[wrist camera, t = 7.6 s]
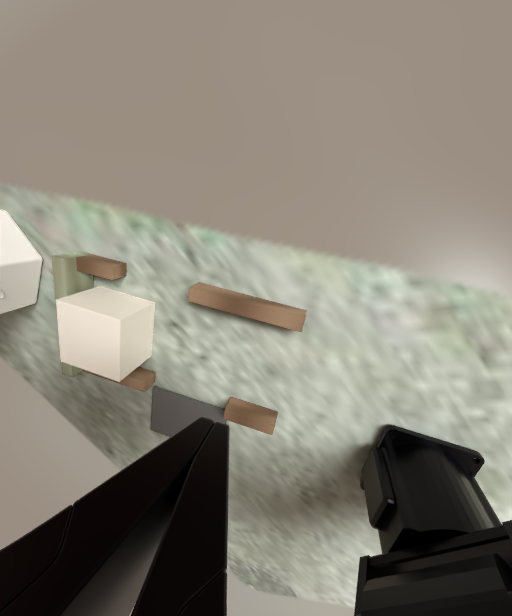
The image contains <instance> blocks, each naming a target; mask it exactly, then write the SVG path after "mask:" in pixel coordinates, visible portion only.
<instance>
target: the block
mask: <svg viewBox="0 0 512 616" xmlns="http://www.w3.org/2000/svg"><path fill="white" fill-rule="evenodd" d="M56 306H57V319H58V333H59V346H60V359H61V362H64V363H67V364H70V365H73V366H76V367H78V368H81V369H84V370H87V371H90V372H92V373H95V374H98V375H101V376H104V377H107V378H109V379H112V380H115V381H118V382H120V381H121V380H122V379H124V378H125V377H126V376H127V375H129V374H130V373H131V372H132V371H133V370H135V369H136V368H137V367H138V366H140V365H141V364H142V363H143V362H145V361H146V360H147V359H148V358H150V357H151V352H152V338H153V324H154V310H155V302H152V301H149V300H145V299H142V298H138V297H135V296H132V295H128V294H125V293H122V292H118V291H115V290H111V289H108V288H105V287H101V286H98V287H95V288H92V289H89V290H85V291H82V292H79V293H76V294H72V295H69V296H66V297H63V298H60V299H56Z"/></svg>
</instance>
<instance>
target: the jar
mask: <svg viewBox="0 0 512 616" xmlns="http://www.w3.org/2000/svg"><path fill="white" fill-rule="evenodd" d="M42 262H43V258H42V257H41V255H40V254H39V253H38V251H37V250H36V249H35V247H34V246H33V245H32V244H31V242H30V241H29V240H28V238H27V237H26V236H25V234H24V233H23V232H22V230H21V229H20V228H19V226H18V225H17V224H16V222H15V221H14V220H13V218H12V217H11V216H10V214H9V213H8V212H7V211H5V210H0V314H3V313H6V312H9V311H13V310H16V309H19V308H23V307H26V306H29V305H32V304H35V303H36V301H37V295H38V288H39V282H40V275H41V268H42Z"/></svg>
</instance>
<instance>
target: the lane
mask: <svg viewBox="0 0 512 616" xmlns="http://www.w3.org/2000/svg"><path fill="white" fill-rule="evenodd" d="M52 264H53V276H54V287H55V298H56V299H60V298H63V297H66V296H69V295H72V294H76V293H79V292H82V291H85V290H89V289H92V288H94V286H93V275H95V276H99V277H103V278H106V279H110V280H114V279H118V278H121V277H124V276H126V263H123V262H119V261H115V260H111V259H108V258H104V257H100V256H96V255H92V254H89V253H85V252H76V253H69V254H62V255H55V256H52ZM188 301H190V302H193V303H197V304H201V305H204V306H208V307H212V308H215V309H219V310H223V311H226V312H230V313H233V314H237V315H241V316H244V317H248V318H252V319H255V320H259V321H263V322H266V323H270V324H273V325H277V326H281V327H284V328H288V329H292V330H295V331H299V332H302V328H303V325H304V321H305V317H306V310H302V309H299V308H295V307H291V306H287V305H283V304H279V303H276V302H272V301H268V300H264V299H260V298H257V297H253V296H249V295H245V294H241V293H237V292H234V291H230V290H226V289H222V288H218V287H215V286H211V285H207V284H203V283H197V284H195V285H193V286H191V287H189V297H188ZM56 309H57V306H56ZM57 320H58V319H57ZM61 365H62V374H64V375H67V376H70V377H74V376H75V375H77V374H78V373H80V372H81V371H84V372H87V373H90V374H93V375H96V376H99V377H102V378H105V379H108V380H111V381H114V382H117V383H120V384H123V385H126V386H129V387H132V388H135V389H137V390H140V391H143V392H145V391H146V390H147V389H148V388H149V387H150V386H151V385H152V384H153V383H154V382H155V372H153V371H150V370H147V369H144V368H141V367H137V368H136V369H135V370H133V371H132V372H131V373H130V374H129V375H127V376H126V377H125V378H124V379H122V380H121V381H120V382H118V381H115V380H112V379H109V378H107V377H104V376H101V375H98V374H95V373H92V372H90V371H87V370H84V369H81V368H78V367H76V366H73V365H70V364H67V363H64V362H61ZM277 414H278V412H276V411H273V410H270V409H267V408H264V407H261V406H258V405H255V404H252V403H249V402H246V401H243V400H240V399H236V398H233V397H231V398H230V400H229V402H228V404H227V406H226V408H225V413H224V418H223V419H226V420H229V421H232V422H235V423H238V424H241V425H244V426H247V427H249V428H252V429H255V430H258V431H261V432H264V433H267V434H270V435H272V434H273V430H274V427H275V423H276V418H277Z"/></svg>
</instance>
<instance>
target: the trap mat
mask: <svg viewBox="0 0 512 616" xmlns="http://www.w3.org/2000/svg"><path fill="white" fill-rule="evenodd" d="M224 413H225V409H222V408H219V407H216V406H213V405H210V404H207V403H204V402H201V401H198V400H195V399H192V398H189V397H186V396H183V395H180V394H177V393H174V392H171V391H168V390H165V389H162V388H159V387H156V386H154V387H153V400H152V416H151V430H152V431H155V432H158V433H161V434H164V435H166V436H169V437H172V436H173V435H174V434H176V433H177V432H179V431H180V430H182V429H183V428H185V427H186V426H188V425H189V424H191V423H192V422H194V421H195V420H197V419H198V418H200V417H202V416H204V417H207V418H210V419H213V420H214V421H215V422H217V421H218V422H221V423H224V424H226V421H227V420H226V419H223V418H224Z"/></svg>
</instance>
